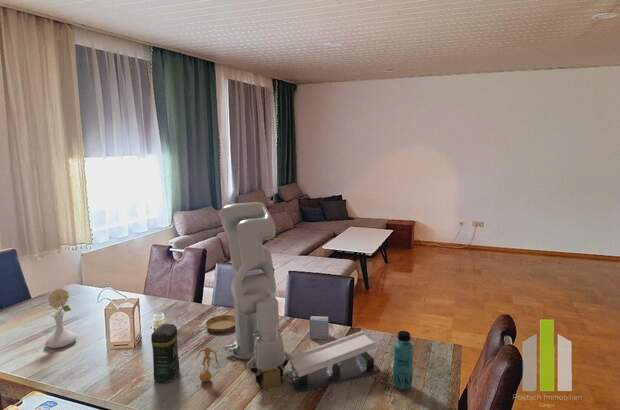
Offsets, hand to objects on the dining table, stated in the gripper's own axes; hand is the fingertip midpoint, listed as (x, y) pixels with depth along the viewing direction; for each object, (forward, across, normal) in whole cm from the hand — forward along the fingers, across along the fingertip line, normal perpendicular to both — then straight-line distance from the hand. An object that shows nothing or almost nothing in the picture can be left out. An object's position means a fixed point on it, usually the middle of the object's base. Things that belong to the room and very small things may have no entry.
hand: (269, 380), depth 140 cm
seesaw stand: (+1, +23, -3) cm, 23 cm away
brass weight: (+1, 0, 0) cm, 1 cm away
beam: (-6, +23, -3) cm, 24 cm away
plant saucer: (+1, -8, +51) cm, 52 cm away
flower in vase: (+1, -73, +61) cm, 95 cm away
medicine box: (+1, +29, +24) cm, 38 cm away
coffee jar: (+1, -33, +19) cm, 38 cm away
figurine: (+1, -20, +11) cm, 23 cm away
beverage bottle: (+1, +41, -20) cm, 46 cm away
